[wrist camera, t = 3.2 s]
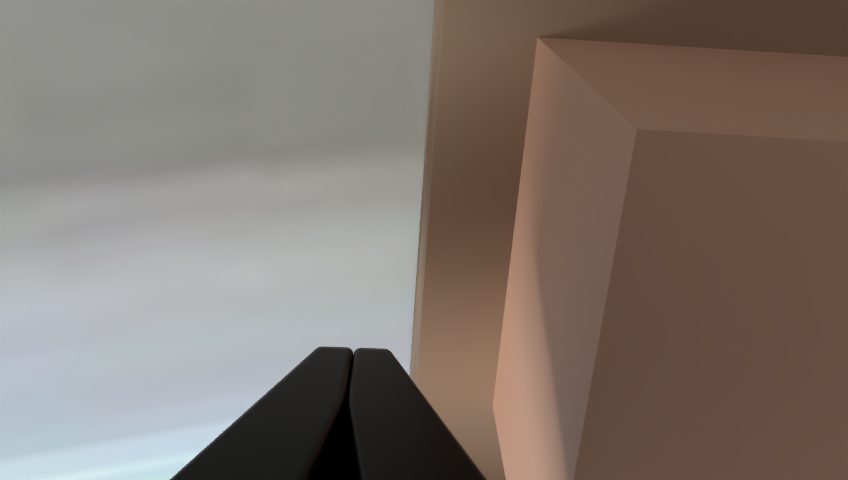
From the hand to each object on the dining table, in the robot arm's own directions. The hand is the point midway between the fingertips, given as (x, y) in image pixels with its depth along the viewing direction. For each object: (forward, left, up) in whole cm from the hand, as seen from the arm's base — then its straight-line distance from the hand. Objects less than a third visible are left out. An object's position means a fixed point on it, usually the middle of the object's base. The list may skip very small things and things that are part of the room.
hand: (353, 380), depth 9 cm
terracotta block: (0, -5, -4) cm, 7 cm away
